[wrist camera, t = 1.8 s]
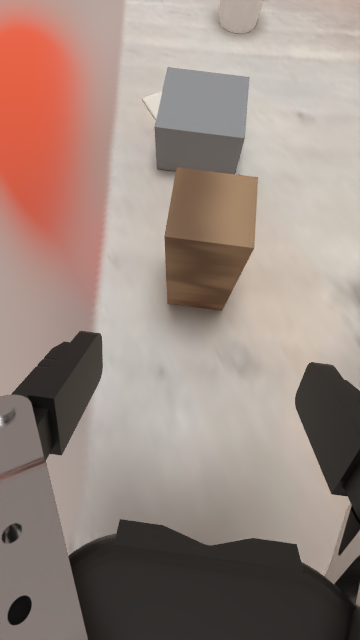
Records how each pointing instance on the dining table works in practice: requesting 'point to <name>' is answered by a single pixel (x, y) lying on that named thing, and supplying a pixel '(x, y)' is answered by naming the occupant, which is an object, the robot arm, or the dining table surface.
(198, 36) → the dining table surface
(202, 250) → the walnut brick
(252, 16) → the shot glass
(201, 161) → the base block
